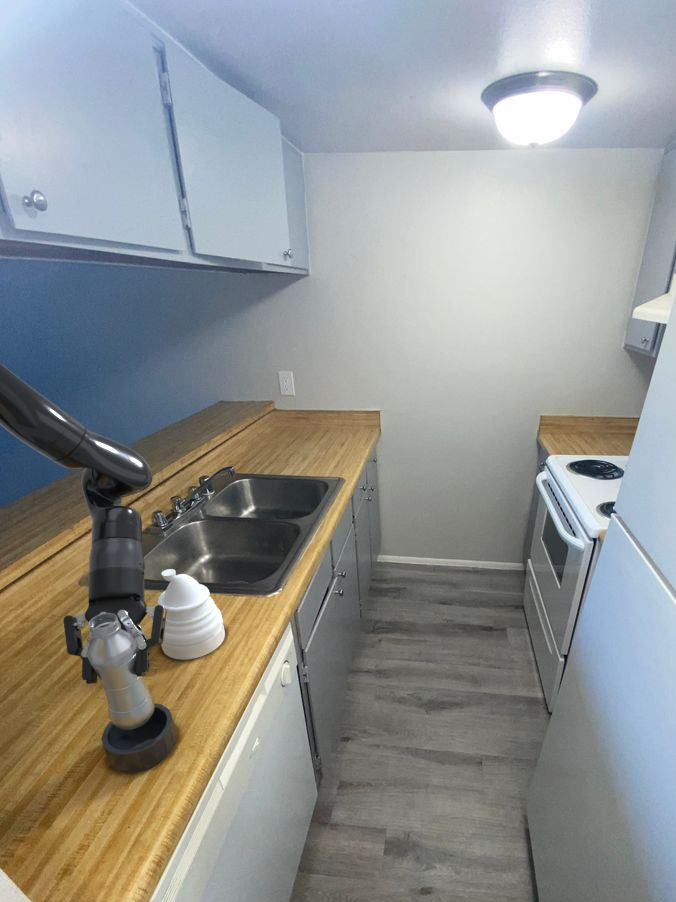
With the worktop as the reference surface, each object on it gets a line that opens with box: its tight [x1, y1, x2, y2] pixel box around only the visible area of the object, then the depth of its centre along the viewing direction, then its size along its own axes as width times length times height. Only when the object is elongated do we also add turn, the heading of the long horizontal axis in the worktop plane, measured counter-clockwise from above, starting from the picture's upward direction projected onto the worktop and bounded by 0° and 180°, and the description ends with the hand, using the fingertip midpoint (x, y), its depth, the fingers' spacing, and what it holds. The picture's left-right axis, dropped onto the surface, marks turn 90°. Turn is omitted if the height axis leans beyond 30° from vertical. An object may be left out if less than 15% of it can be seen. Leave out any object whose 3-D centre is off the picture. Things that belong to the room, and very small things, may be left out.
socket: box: [100, 702, 178, 774], centre depth 79 cm, size 10×10×4 cm
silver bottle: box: [87, 613, 155, 730], centre depth 72 cm, size 6×7×20 cm
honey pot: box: [157, 568, 226, 661], centre depth 100 cm, size 13×13×18 cm
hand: (116, 679), depth 70 cm, fingers closed on silver bottle, 6 cm apart
